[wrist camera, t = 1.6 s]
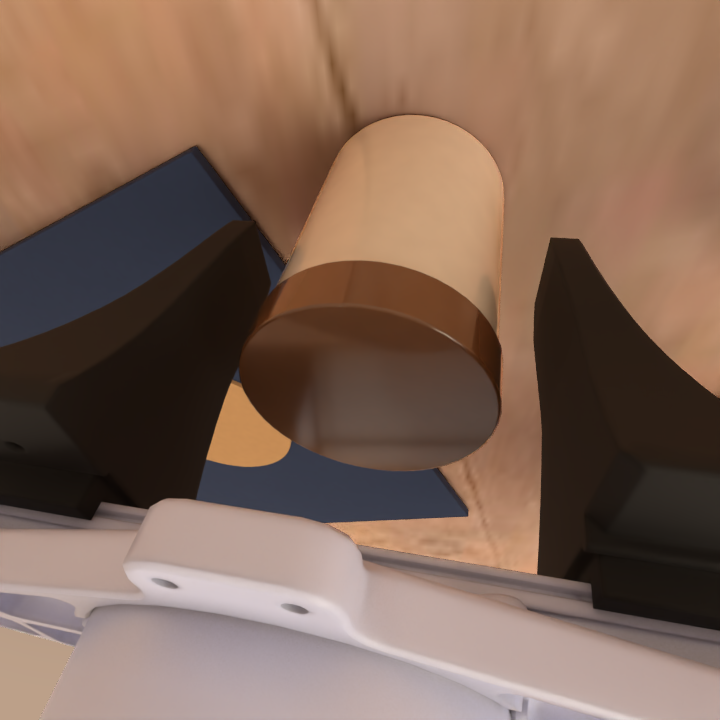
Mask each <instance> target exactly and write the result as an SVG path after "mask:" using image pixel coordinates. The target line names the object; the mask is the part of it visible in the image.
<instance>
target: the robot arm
mask: <svg viewBox="0 0 720 720" xmlns="http://www.w3.org/2000/svg"><path fill="white" fill-rule="evenodd" d="M270 286H271V281H270V277H269V273H268V269H267V265H266V261H265V257H264V253H263V249H262V246H261V242H260V238H259V234H258V230H257V226H256V222H255V221H240V220H232V221H231V222H229V223H228V224H226V225H225V226H223V227H222V228H220V229H219V230H218V231H216V232H215V233H214V234H212V235H211V236H210V237H208V238H207V239H206V240H204V241H203V242H202V243H200V244H199V245H198V246H196V247H195V248H194V249H192V250H191V251H189V252H188V253H187V254H185V255H184V256H183V257H181V258H180V259H179V260H177V261H176V262H175V263H173V264H172V265H170V266H169V267H167V268H166V269H164V270H163V271H161V272H160V273H158V274H157V275H155V276H154V277H152V278H151V279H150V280H148V281H147V282H145V283H144V284H142V285H140V286H139V287H137V288H135V289H134V290H132V291H130V292H129V293H127V294H125V295H123V296H122V297H120V298H118V299H116V300H114V301H113V302H111V303H109V304H107V305H105V306H103V307H101V308H99V309H97V310H95V311H92V312H90V313H88V314H86V315H84V316H82V317H80V318H77V319H75V320H73V321H71V322H69V323H67V324H64V325H62V326H59V327H57V328H54V329H52V330H49V331H47V332H44V333H41V334H39V335H36V336H33V337H30V338H28V339H25V340H22V341H19V342H16V343H13V344H9V345H6V346H3V347H0V627H4V628H8V629H11V630H15V631H19V632H22V633H26V634H29V635H33V636H37V637H40V638H44V639H48V640H51V641H55V642H58V643H62V644H66V645H69V646H73V647H75V648H74V650H73V652H72V654H71V656H70V658H69V660H68V662H67V664H66V666H65V668H64V670H63V672H62V674H61V676H60V678H59V680H58V682H57V684H56V686H55V688H54V690H53V692H52V695H51V696H50V699H49V701H48V702H47V704H46V707H45V708H44V710H43V712H42V715H41V717H40V719H39V720H720V399H718V398H717V397H716V396H715V395H713V394H712V393H711V392H709V391H708V390H707V389H705V388H704V387H703V386H702V385H700V384H699V383H698V382H697V381H696V380H695V379H693V378H692V377H691V376H690V375H689V374H687V373H686V372H685V371H684V370H683V369H681V368H680V367H679V366H678V365H677V364H676V363H675V362H674V361H673V360H671V359H670V358H669V357H668V356H667V355H666V354H665V353H664V352H663V351H662V350H661V349H660V348H659V347H658V346H657V345H656V344H655V343H654V342H653V341H652V340H651V339H650V338H649V337H648V335H647V334H646V333H645V332H644V331H643V330H642V329H641V328H640V326H639V325H638V324H637V323H636V321H635V320H634V319H633V318H632V317H631V315H630V314H629V313H628V312H627V310H626V309H625V308H624V306H623V305H622V304H621V302H620V301H619V300H618V298H617V297H616V295H615V294H614V293H613V291H612V290H611V288H610V287H609V286H608V284H607V283H606V281H605V280H604V278H603V277H602V275H601V273H600V272H599V270H598V269H597V267H596V266H595V264H594V262H593V261H592V259H591V257H590V256H589V254H588V252H587V251H586V249H585V247H584V246H583V244H582V243H581V241H580V240H579V239H568V238H550V243H549V247H548V251H547V255H546V259H545V263H544V268H543V272H542V276H541V280H540V284H539V288H538V292H537V297H536V301H535V310H534V351H535V361H536V371H537V381H538V391H539V401H540V410H541V424H542V466H541V505H540V530H539V552H538V571H537V575H536V574H530V573H524V572H518V571H512V570H506V569H500V568H494V567H488V566H482V565H476V564H470V563H464V562H458V561H452V560H446V559H440V558H434V557H428V556H422V555H416V554H410V553H404V552H398V551H392V550H386V549H380V548H374V547H369V546H363V545H357V544H355V543H354V542H353V541H352V539H351V538H350V537H349V535H347V534H345V533H343V532H341V531H340V530H338V529H336V528H334V527H332V526H330V525H328V524H325V523H321V522H317V521H314V520H310V519H306V518H303V517H297V516H290V515H284V514H278V513H272V512H266V511H259V510H253V509H247V508H241V507H234V506H228V505H222V504H216V503H210V502H203V501H197V500H196V498H197V494H198V489H199V485H200V481H201V478H202V474H203V470H204V466H205V462H206V458H207V455H208V451H209V448H210V445H211V441H212V438H213V434H214V431H215V428H216V424H217V421H218V418H219V415H220V412H221V409H222V406H223V403H224V400H225V397H226V394H227V392H228V389H229V387H230V384H231V382H232V380H233V377H234V375H235V373H236V371H237V369H238V367H239V356H240V352H241V349H242V346H243V344H244V342H245V340H246V338H247V336H248V334H249V331H250V329H251V327H252V325H253V323H254V321H255V319H256V317H257V314H258V312H259V310H260V308H261V306H262V304H263V302H264V301H265V299H266V298H267V296H268V294H269V290H270Z"/></svg>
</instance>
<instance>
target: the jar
mask: <svg viewBox="0 0 720 720" xmlns="http://www.w3.org/2000/svg"><path fill="white" fill-rule="evenodd" d="M503 222H504V187H503V181H502V178H501V174H500V171H499V169H498V167H497V165H496V163H495V161H494V159H493V158H492V156H491V155H490V153H489V152H488V151H487V149H486V148H485V147H484V146H483V145H482V144H481V143H480V142H479V141H478V140H477V139H476V138H475V137H473V136H472V135H471V134H470V133H468V132H467V131H465V130H464V129H462V128H460V127H459V126H456V125H454V124H452V123H450V122H448V121H445V120H442V119H438V118H435V117H429V116H423V115H403V116H395V117H390V118H386V119H383V120H380V121H377V122H375V123H372V124H370V125H369V126H367V127H365V128H363V129H362V130H360V131H359V132H358V133H356V134H355V135H354V136H352V137H351V138H350V139H349V140H348V141H347V142H346V143H345V144H344V146H343V147H342V149H341V150H340V151H339V153H338V154H337V156H336V158H335V160H334V162H333V164H332V166H331V168H330V171H329V173H328V175H327V177H326V179H325V181H324V184H323V186H322V188H321V190H320V192H319V194H318V197H317V199H316V201H315V203H314V205H313V207H312V210H311V212H310V214H309V216H308V218H307V220H306V223H305V225H304V227H303V229H302V231H301V233H300V236H299V238H298V240H297V242H296V244H295V246H294V249H293V251H292V253H291V255H290V257H289V259H288V262H287V264H286V266H285V268H284V270H283V272H282V275H281V277H280V279H279V281H278V283H277V285H276V288H274V289H273V290H272V291H271V293H270V294H269V295H268V296H267V298H266V299H265V301H264V302H263V304H262V306H261V308H260V310H259V312H258V314H257V317H256V319H255V321H254V323H253V325H252V327H251V329H250V331H249V334H248V336H247V338H246V340H245V342H244V344H243V346H242V349H241V352H240V356H239V376H240V382H241V384H242V387H243V390H244V392H245V394H246V396H247V398H248V400H249V402H250V403H251V404H252V406H253V407H254V408H255V410H256V411H257V412H258V413H259V414H260V415H261V417H262V418H263V419H264V420H265V421H266V422H268V423H269V424H270V425H271V426H272V427H273V428H274V429H276V430H277V431H278V432H280V433H281V434H282V435H284V436H285V437H287V438H288V439H290V440H292V441H293V442H295V443H296V444H298V445H300V446H302V447H304V448H306V449H308V450H310V451H312V452H315V453H317V454H319V455H322V456H324V457H327V458H330V459H333V460H336V461H339V462H342V463H346V464H350V465H354V466H359V467H363V468H370V469H376V470H387V471H415V470H425V469H432V468H437V467H441V466H445V465H448V464H451V463H454V462H457V461H459V460H462V459H464V458H466V457H468V456H470V455H471V454H473V453H474V452H476V451H477V450H479V449H480V448H481V447H482V446H483V445H484V444H486V443H487V441H488V440H489V439H490V438H491V436H492V435H493V434H494V432H495V430H496V428H497V426H498V424H499V420H500V417H501V410H502V378H503V355H502V349H501V345H500V343H499V322H500V297H501V272H502V247H503Z"/></svg>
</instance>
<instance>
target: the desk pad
mask: <svg viewBox="0 0 720 720" xmlns="http://www.w3.org/2000/svg"><path fill="white" fill-rule="evenodd" d="M232 220H240V221H252V220H251V219H250V217H249V216H248V215H247V213H246V212H245V211H244V209H243V208H242V207H241V205H240V204H239V203H238V201H237V200H236V199H235V197H234V196H233V195H232V193H231V192H230V191H229V189H228V188H227V187H226V185H225V184H224V183H223V181H222V180H221V179H220V177H219V176H218V174H217V173H216V172H215V170H214V169H213V168H212V166H211V165H210V164H209V162H208V161H207V160H206V158H205V157H204V156H203V154H202V153H201V152H200V150H199V149H198V148H197V147H196V146H194V147H193V148H191V149H189V150H187V151H185V152H183V153H182V154H180V155H178V156H176V157H174V158H172V159H171V160H169V161H167V162H165V163H163V164H161V165H159V166H158V167H156V168H154V169H152V170H150V171H148V172H147V173H145V174H143V175H141V176H139V177H137V178H136V179H134V180H132V181H130V182H128V183H126V184H125V185H123V186H121V187H119V188H117V189H115V190H114V191H112V192H110V193H108V194H106V195H104V196H103V197H101V198H99V199H97V200H95V201H93V202H92V203H90V204H88V205H86V206H84V207H82V208H81V209H79V210H77V211H75V212H73V213H71V214H70V215H68V216H66V217H64V218H62V219H60V220H59V221H57V222H55V223H53V224H51V225H49V226H48V227H46V228H44V229H42V230H40V231H38V232H37V233H35V234H33V235H31V236H29V237H27V238H26V239H24V240H22V241H20V242H18V243H16V244H15V245H13V246H11V247H9V248H7V249H5V250H4V251H2V252H0V347H3V346H6V345H9V344H13V343H16V342H19V341H22V340H25V339H28V338H30V337H33V336H36V335H39V334H41V333H44V332H47V331H49V330H52V329H54V328H57V327H59V326H62V325H64V324H67V323H69V322H71V321H73V320H75V319H77V318H80V317H82V316H84V315H86V314H88V313H90V312H92V311H95V310H97V309H99V308H101V307H103V306H105V305H107V304H109V303H111V302H113V301H114V300H116V299H118V298H120V297H122V296H123V295H125V294H127V293H129V292H130V291H132V290H134V289H135V288H137V287H139V286H140V285H142V284H144V283H145V282H147V281H148V280H150V279H151V278H152V277H154V276H155V275H157V274H158V273H160V272H161V271H163V270H164V269H166V268H167V267H169V266H170V265H172V264H173V263H175V262H176V261H177V260H179V259H180V258H181V257H183V256H184V255H185V254H187V253H188V252H189V251H191V250H192V249H194V248H195V247H196V246H198V245H199V244H200V243H202V242H203V241H204V240H206V239H207V238H208V237H210V236H211V235H212V234H214V233H215V232H216V231H218V230H219V229H220V228H222V227H223V226H225V225H226V224H228V223H229V222H231V221H232ZM257 230H258V234H259V238H260V242H261V246H262V249H263V253H264V257H265V261H266V265H267V269H268V273H269V277H270V281H271V286H270V290H269V294H270V293H271V291H272V290H273V289H274V288H276V285H277V283H278V281H279V279H280V277H281V275H282V272H283V270H284V268H285V266H286V265H285V264H284V263H283V261H282V260H281V259H280V257H279V256H278V255H277V253H276V252H275V251H274V249H273V248H272V247H271V245H270V244H269V243H268V241H267V240H266V239H265V237H264V236H263V235H262V233H261V232H260V231H259V229H258V228H257ZM269 294H268V295H269ZM196 500H197V501H203V502H210V503H216V504H222V505H228V506H234V507H241V508H247V509H253V510H259V511H266V512H272V513H278V514H284V515H290V516H297V517H303V518H306V519H310V520H314V521H317V522H321V523H333V522H355V521H377V520H400V519H422V518H444V517H466V516H468V509H467V507H466V506H465V505H464V503H463V502H462V501H461V499H460V498H459V497H458V495H457V494H456V493H455V491H454V490H453V489H452V487H451V486H450V485H449V483H448V482H447V481H446V479H445V478H444V477H443V475H442V474H441V473H440V471H439V470H438V469H437V468H432V469H425V470H415V471H387V470H376V469H370V468H363V467H359V466H354V465H350V464H346V463H342V462H339V461H336V460H333V459H330V458H327V457H324V456H322V455H319V454H317V453H315V452H312V451H310V450H308V449H306V448H304V447H302V446H300V445H298V444H296V443H295V442H293V441H292V440H290V439H288V438H287V437H285V436H284V435H282V434H281V433H280V432H278V431H277V430H276V429H274V428H273V427H272V426H271V425H270V424H269V423H268V422H266V421H265V420H264V419H263V418H262V417H261V415H260V414H259V413H258V412H257V411H256V410H255V408H254V407H253V406H252V404H251V403H250V402H249V400H248V398H247V396H246V394H245V392H244V390H243V387H242V384H241V382H240V376H239V367H238V369H237V371H236V373H235V375H234V377H233V380H232V382H231V384H230V387H229V389H228V392H227V394H226V397H225V400H224V403H223V406H222V409H221V412H220V415H219V418H218V421H217V424H216V428H215V431H214V434H213V438H212V441H211V445H210V448H209V451H208V455H207V458H206V462H205V466H204V470H203V474H202V478H201V481H200V485H199V489H198V494H197V498H196Z"/></svg>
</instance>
